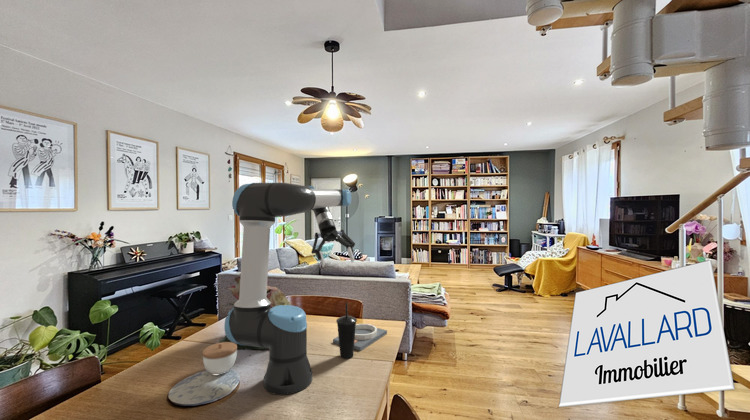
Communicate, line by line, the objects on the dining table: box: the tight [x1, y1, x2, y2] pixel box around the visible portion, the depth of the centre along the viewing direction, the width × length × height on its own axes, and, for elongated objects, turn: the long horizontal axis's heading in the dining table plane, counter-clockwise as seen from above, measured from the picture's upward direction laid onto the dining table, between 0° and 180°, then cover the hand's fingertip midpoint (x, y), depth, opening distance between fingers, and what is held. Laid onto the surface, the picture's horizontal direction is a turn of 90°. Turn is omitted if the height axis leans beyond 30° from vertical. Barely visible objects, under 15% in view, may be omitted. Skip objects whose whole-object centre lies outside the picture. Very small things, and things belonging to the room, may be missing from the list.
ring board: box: [332, 323, 388, 352], centre depth 137 cm, size 20×14×4 cm
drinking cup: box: [336, 302, 358, 360], centre depth 121 cm, size 8×8×20 cm
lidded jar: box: [202, 342, 238, 375], centre depth 110 cm, size 11×11×9 cm
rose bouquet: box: [218, 272, 293, 351], centre depth 138 cm, size 26×29×30 cm
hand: (338, 263), depth 140 cm, fingers open, 13 cm apart
